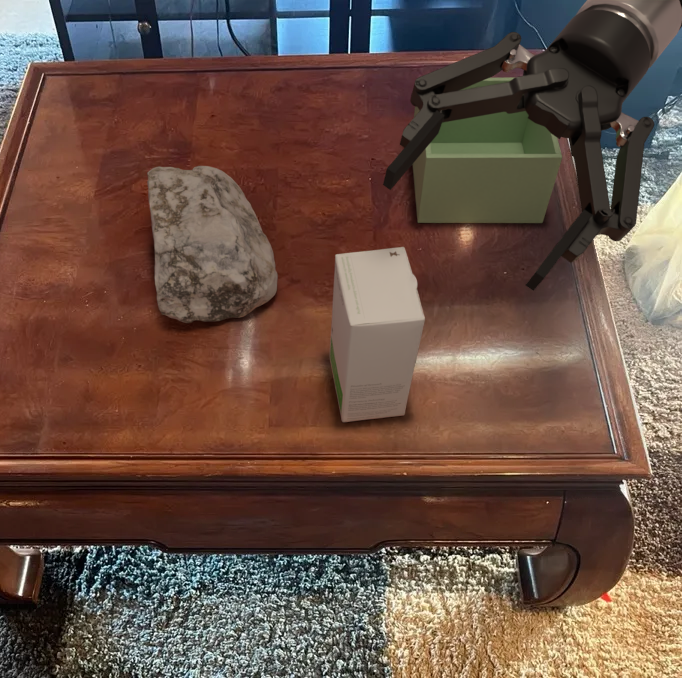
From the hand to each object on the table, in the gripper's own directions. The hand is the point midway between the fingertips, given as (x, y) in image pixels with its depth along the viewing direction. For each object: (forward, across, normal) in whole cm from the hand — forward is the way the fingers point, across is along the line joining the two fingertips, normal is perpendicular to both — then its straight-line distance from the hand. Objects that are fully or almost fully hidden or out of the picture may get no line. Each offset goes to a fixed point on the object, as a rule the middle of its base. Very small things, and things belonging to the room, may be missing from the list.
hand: (459, 230), depth 62 cm
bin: (-22, +6, -31) cm, 38 cm away
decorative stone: (+7, +22, -28) cm, 36 cm away
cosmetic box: (+9, -1, -21) cm, 23 cm away
